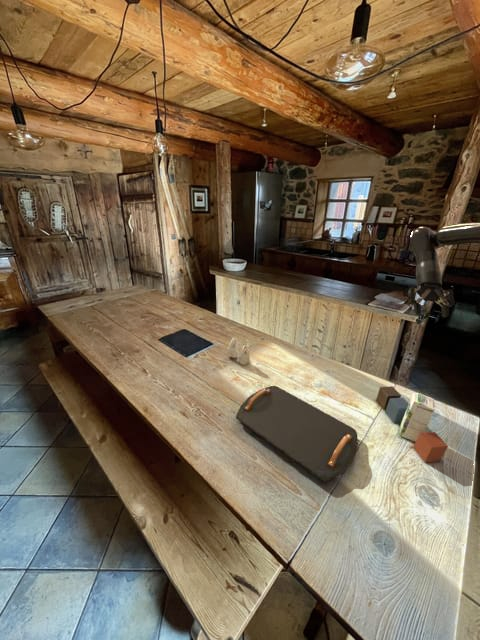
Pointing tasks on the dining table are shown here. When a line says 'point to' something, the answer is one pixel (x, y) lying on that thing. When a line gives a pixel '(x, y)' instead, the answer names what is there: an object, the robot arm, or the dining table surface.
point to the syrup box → (417, 416)
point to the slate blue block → (396, 409)
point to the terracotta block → (430, 447)
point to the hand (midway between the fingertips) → (432, 315)
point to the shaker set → (233, 352)
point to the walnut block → (386, 396)
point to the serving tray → (300, 431)
